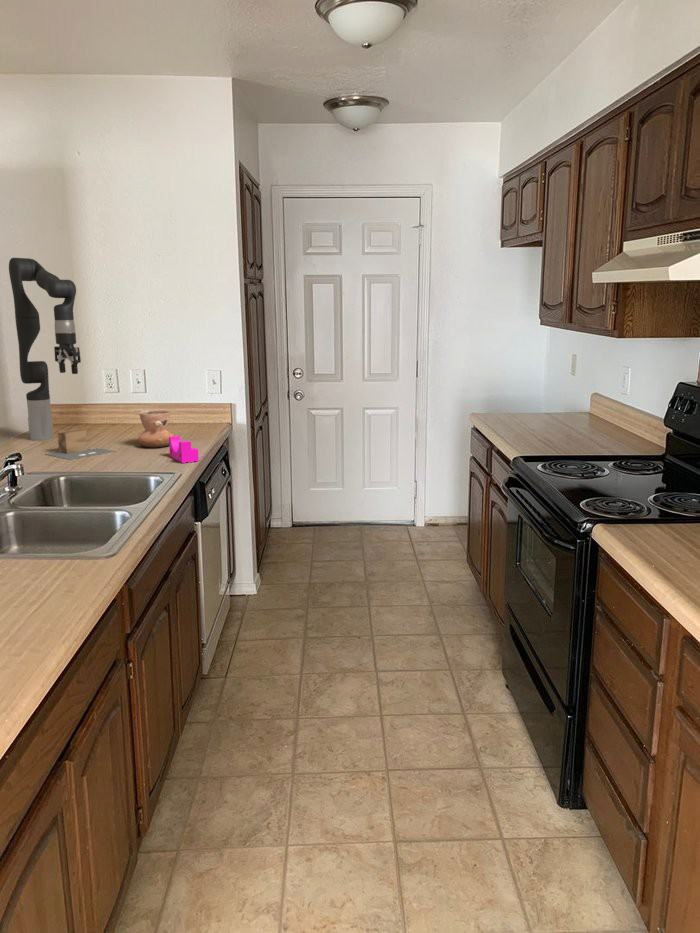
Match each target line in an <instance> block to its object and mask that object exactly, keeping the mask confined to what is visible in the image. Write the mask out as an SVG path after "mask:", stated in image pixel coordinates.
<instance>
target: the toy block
mask: <svg viewBox="0 0 700 933" xmlns="http://www.w3.org/2000/svg"><path fill="white" fill-rule="evenodd" d="M168 446H169V456H170V457H171V458H172V457H173V459H174V460H176V461H177V462H179V463H181V464H186V462H188V463H195V462H194V461H197V462H199V449H198V448H196V447H192V441H191V440H185V441H181V436H179V435H174V437H169V445H168Z"/></svg>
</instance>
